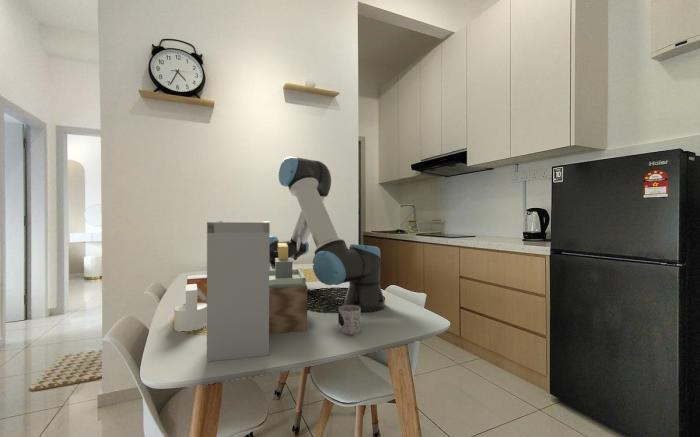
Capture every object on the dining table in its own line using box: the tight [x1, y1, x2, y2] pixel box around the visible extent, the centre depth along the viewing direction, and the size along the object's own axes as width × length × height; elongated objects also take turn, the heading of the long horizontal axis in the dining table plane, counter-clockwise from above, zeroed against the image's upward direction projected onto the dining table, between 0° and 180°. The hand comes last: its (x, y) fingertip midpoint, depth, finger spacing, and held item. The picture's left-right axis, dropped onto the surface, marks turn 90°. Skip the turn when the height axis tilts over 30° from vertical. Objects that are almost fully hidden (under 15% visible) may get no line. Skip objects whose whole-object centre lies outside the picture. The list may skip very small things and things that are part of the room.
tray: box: [269, 268, 307, 288], centre depth 98 cm, size 12×16×2 cm
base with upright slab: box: [173, 284, 207, 333], centre depth 94 cm, size 9×9×12 cm
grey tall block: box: [206, 220, 271, 363], centre depth 79 cm, size 14×12×32 cm
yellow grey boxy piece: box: [275, 243, 293, 279], centre depth 103 cm, size 5×19×10 cm, turn 14°
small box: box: [186, 273, 207, 304], centre depth 105 cm, size 8×6×13 cm
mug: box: [337, 304, 362, 335], centre depth 90 cm, size 10×7×7 cm
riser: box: [269, 284, 308, 335], centre depth 98 cm, size 13×17×13 cm
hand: (280, 240), depth 109 cm, fingers open, 12 cm apart
